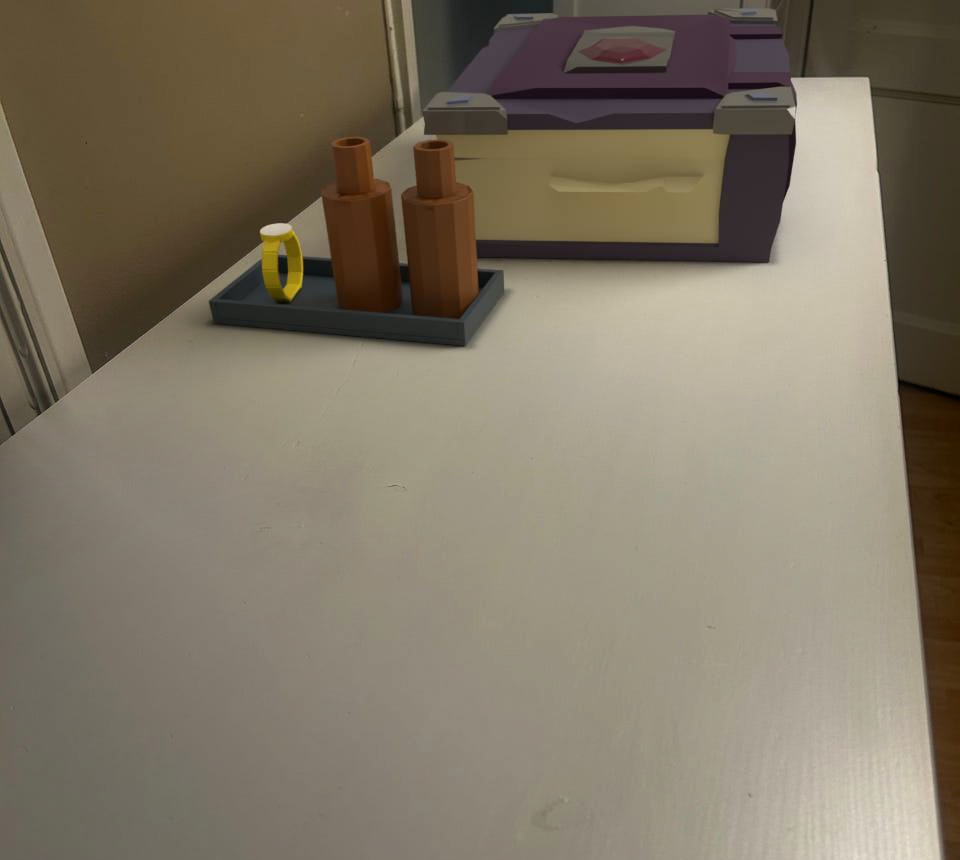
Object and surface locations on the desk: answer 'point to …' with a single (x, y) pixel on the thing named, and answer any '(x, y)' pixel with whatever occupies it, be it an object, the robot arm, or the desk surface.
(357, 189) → the bottle mid
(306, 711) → the desk surface
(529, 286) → the desk surface
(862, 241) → the desk surface
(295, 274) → the watch
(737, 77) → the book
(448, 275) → the bottle far
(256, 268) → the tray
